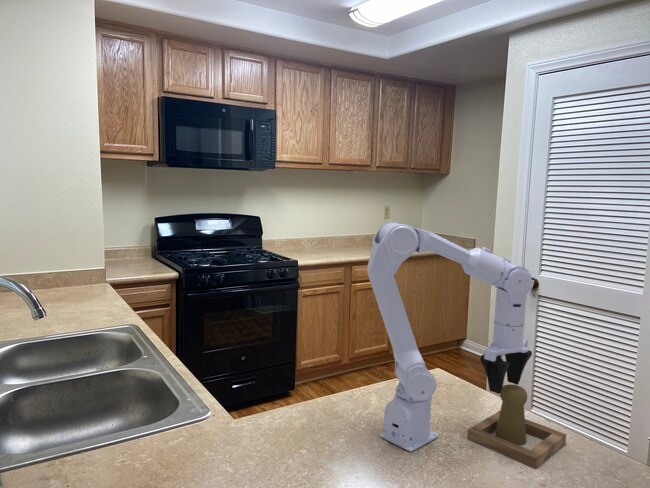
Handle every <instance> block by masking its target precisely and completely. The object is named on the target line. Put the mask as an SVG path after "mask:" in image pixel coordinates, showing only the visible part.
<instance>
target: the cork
mask: <svg viewBox="0 0 650 488" xmlns="http://www.w3.org/2000/svg"><path fill="white" fill-rule="evenodd" d="M499 397H500V400H501V406H500V410H499V411H500V415H499V419H498V424H497V429H496V430H495V432H494V435H495V436H497V437H500V438H502V439H504V440H507V441H509V442H512V443H514V444H517V445H519V446H521V447H522V446H524V445H526V443H527V433H526V429H525V419H526V417H525V416H526V415H525V405H526V403H527V401H528V392H527V391H526V389H525V388H523V387H522V386H520V385H518V384H511V383H509V384H505V385H504V384H503V387H502V391H501V393H500V394H499Z"/></svg>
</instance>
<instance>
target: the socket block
mask: <svg viewBox="0 0 650 488" xmlns="http://www.w3.org/2000/svg"><path fill="white" fill-rule="evenodd" d="M499 415H500V410H499V411H496V412H495V413H494V414H492V415H490V416H489V417H487V418H485V419H483V420H482V421H479V422H478V423H476V424H475V425H473V426H471V427H469V428H468V429H467V436H466V439H467V440H469V441H471V442H473V443H476V444H478V445H480V446H483V447H484V448H488V449H490V450H492V451H494V452H497V453H498V454H501V455H503V456H506V457H508V458H510V459H512V460H515V461H517V462H520V463H521V464H524V465H526V466H528V467H531V468H532V469H537V468H538V467H539V466H541V465H542V464H543V463H544V462H546V461H547V460H548V459H549V458H551V456H553V455H554V454H555V453H557V452H558V450H560V449H561V448H562V447H564V445H566V443H567V433H565V432H561V431H558V430H556V429H554V428H550V427H548V426H545V425H543V424H540V423H537V422H534V421H532V420H529V419H526V418H525V429H526V435H527V434H528V435H529V436H533V437H536V438H538V439H539V440H540V439H541V440H542V441H541V442H539V443H538V444H536V445H535V446H534V447H532V448H531V449H529V448H526V447H523V446H522V445H521V446H519V445H517V444H514V443H512V442H509V441H507V440H504V439H502V438H500V437H497V436H495V434H493V433H495V432H496V429H497V424H498V419H499Z"/></svg>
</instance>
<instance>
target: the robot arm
mask: <svg viewBox="0 0 650 488" xmlns="http://www.w3.org/2000/svg"><path fill="white" fill-rule="evenodd" d="M425 252H432V253H434V254H436V255H439V256H441V257H444V258H446V259H449V260H450V261H454V262H455V263H458V264H460V265H461V267H462V269H463V271H464V273H465V274H466V275H468V276H471V277H472V278H475V279H478V280H480V281H481V282H484V283H486V284H488V285H491V286H492V287H493V286H494V287H495V288H496V293H495V294H496V295H495V305H494V306H495V307H494V320H493V321H494V322H493V335H492V336H493V337H492V340H491V342H490V344H489V346H488V347H487V348H486V349H484V354H480V358H479V359H480V362H481V364H482V366H483V368H484V371H485V375H486V378H487V384H488V388H489V392H493V393H495V394H498V395H500V393H501V391H502V387H503V386H504V383H505V382H504V380H505V376H506V379H507V382H508V383H509V384H511V383H512V384H513V385H519V383H520V381H521V377H522V375H523V373H524V369H525V367H526V365H527V364H528V361H529V360H530V358H531V357H532V355H533V351H532V350H530V349H529V347H528V345H529V338H526V337H524V332H525V331H524V329H525V321H526V320H525V318H526V308H527V307H526V305H527V298H528V294H529V293H530V292H531V290H532V289H533V288H534V287H533V286H534V284H535V281H534V280H533V278H532V275H531V272H529V270H528V269H527V268H525V267H524V266H519V265H517V264H515V263H512V260H511V258H507V257H504V258H502V257H500V256H498V255H496V254H493V253H491V252H492V251H491V249H489V248H487V247H485V246H482V248H481V247H474V248H471V249H466V248H464V247H462V246H461V245H458V244H456V243H454V242H452V241H450V240H448V239H446V238H443V236H440V235H438V234H436V233H434V232H432V231H429V230H425V229H422V228H417V227H413V226H410V225H409V224H405V223H400V222H398V221H388V222H385V223H384V224H382V225H381V226H380V227H379V228H378V230H377V232H376V233H375V235H374V236H373V238H372V246H371V251H370V255H369V259H368V262H367V266H366V267H367V268H366V273H367V276H368V278H369V282H370V285H371V288H372V290H373V291H372V292H373V294H374V297H375V300H376V303H377V306H378V309H379V312H380V314H381V318H382V321H383V323H384V327H385V330H386V332H387V335H388V339H389V342H390V345H391V348H392V350H393V358H394V363H395V364H394V366H395V367H394V375H395V377H396V379H397V381H399V382H398V384H397V386H396V388H395V394H394V396H393V398H392V399H391V400H390V401H388V403H387V404H386V405H385V407H384V412H383V413H384V414H383V415H384V417H383V432H381V433H379V435H380V437H381V438H382V439H384V440H387V442H391V443H392V444H394V445H396V446H398V447H400V448H402V449H404V450H406V451H407V452H414V451H415V450H417V449H419V448H421V447H423V446H424V445H426V444H428V443H430V442H432V441H433V440H435V439H437V438H438V437H439V434H438V433H437V432H434V431H432V430H431V416H432V415H431V414H432V398H433V395H434V394H435V392H436V389H437V381H436V378H435V376H434V375H433V374H432V373H431V372H430V370H428V368H427V366H426V363H425V361H424V359H423V357H422V354H421V352H420V351H419V348H418V345H417V342H416V339H415V336H414V333H413V330H412V327H411V323H410V321H409V318H408V315H407V312H406V309H405V305H404V303H403V300H402V296H401V294H400V291H399V287H398V285H397V280H396V278H395V274H396V273H397V271H398V269H399V268H400V267H401V265H402V263H404V262H405V261H407V259H408V258H410V257H411V256H412V255H413V254H414V253H417V254H418V253H419V254H422V253H425ZM503 356H504V357H505V360H504V359H503V358H502V357H503Z"/></svg>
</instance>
